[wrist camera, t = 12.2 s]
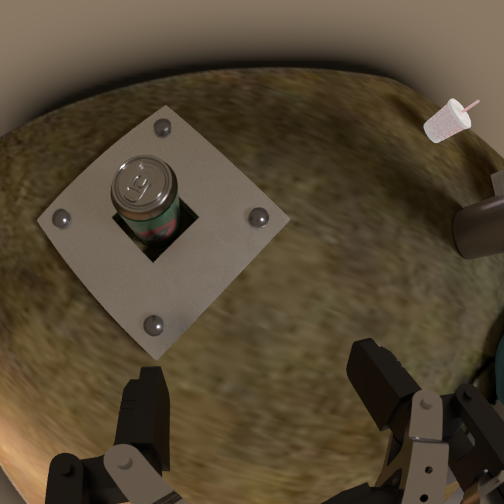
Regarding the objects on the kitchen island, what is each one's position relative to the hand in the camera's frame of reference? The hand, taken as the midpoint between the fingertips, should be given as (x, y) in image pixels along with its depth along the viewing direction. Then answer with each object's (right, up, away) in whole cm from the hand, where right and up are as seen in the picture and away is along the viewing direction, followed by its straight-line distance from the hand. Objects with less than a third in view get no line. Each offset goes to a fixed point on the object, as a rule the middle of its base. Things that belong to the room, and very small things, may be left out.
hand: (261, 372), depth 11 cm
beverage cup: (+35, +28, +32) cm, 55 cm away
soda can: (-11, +8, +19) cm, 23 cm away
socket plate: (-11, +8, +19) cm, 23 cm away
